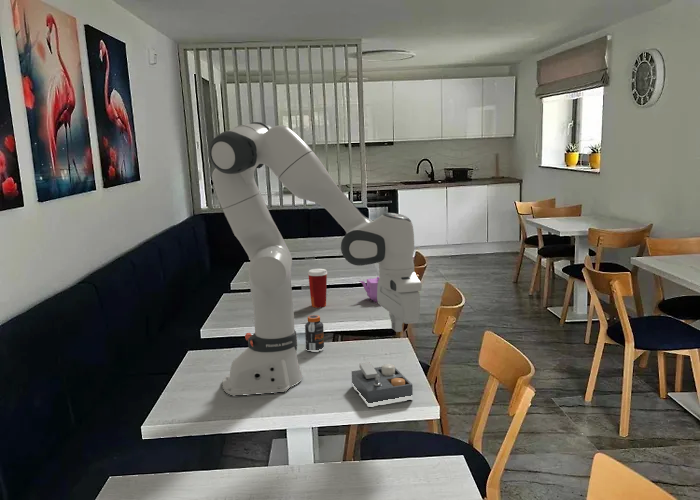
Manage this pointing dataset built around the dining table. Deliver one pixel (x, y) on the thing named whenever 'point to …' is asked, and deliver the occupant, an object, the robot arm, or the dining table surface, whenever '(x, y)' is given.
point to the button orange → (397, 381)
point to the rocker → (368, 370)
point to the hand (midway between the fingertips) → (396, 330)
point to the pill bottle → (314, 333)
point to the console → (380, 386)
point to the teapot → (371, 288)
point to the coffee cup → (318, 287)
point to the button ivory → (388, 370)
